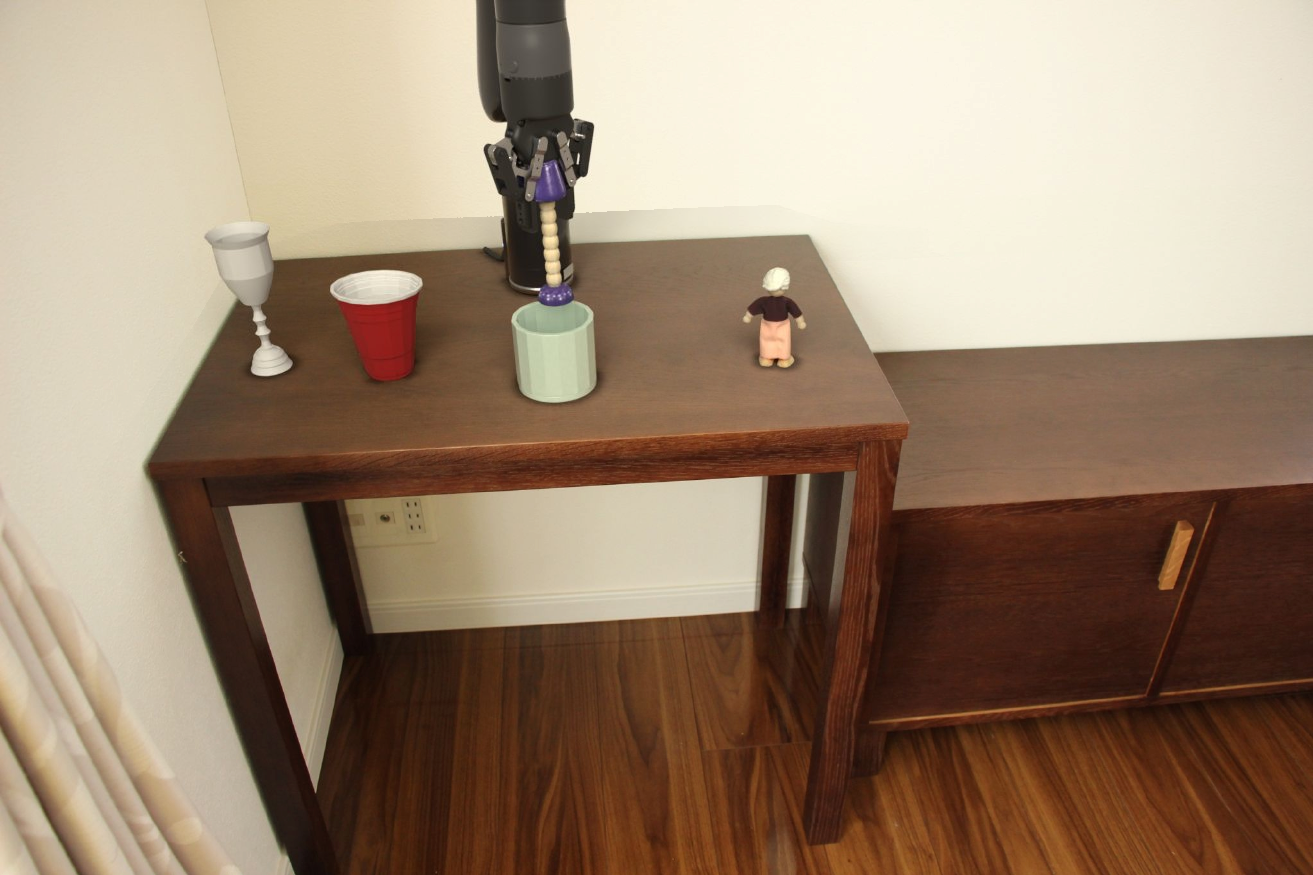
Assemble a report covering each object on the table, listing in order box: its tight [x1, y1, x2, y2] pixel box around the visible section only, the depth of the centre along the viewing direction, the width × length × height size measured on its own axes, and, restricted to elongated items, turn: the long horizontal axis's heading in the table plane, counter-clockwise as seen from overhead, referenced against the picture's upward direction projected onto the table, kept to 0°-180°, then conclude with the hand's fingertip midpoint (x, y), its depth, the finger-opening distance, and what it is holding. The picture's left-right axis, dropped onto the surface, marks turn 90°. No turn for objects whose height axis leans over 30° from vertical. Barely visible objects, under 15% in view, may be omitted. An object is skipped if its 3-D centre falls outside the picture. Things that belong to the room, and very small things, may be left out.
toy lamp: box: [528, 160, 575, 307], centre depth 111 cm, size 5×5×17 cm
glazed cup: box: [510, 300, 598, 404], centre depth 119 cm, size 10×10×9 cm
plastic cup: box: [329, 269, 423, 382], centre depth 121 cm, size 11×11×12 cm
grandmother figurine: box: [742, 266, 807, 368], centre depth 122 cm, size 8×4×13 cm, turn 89°
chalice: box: [203, 220, 294, 377], centre depth 121 cm, size 7×7×18 cm
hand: (547, 223), depth 110 cm, fingers closed on toy lamp, 4 cm apart
